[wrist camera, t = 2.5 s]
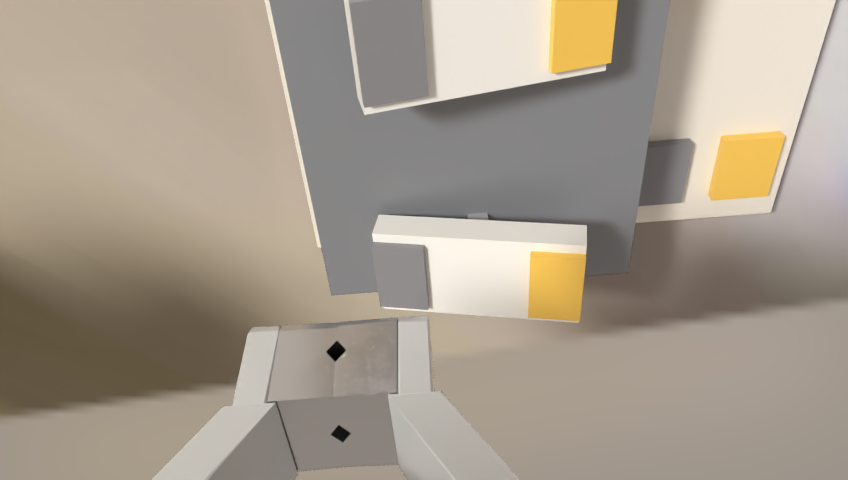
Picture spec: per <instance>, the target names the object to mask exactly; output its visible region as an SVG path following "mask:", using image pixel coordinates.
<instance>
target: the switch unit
mask: <svg viewBox="0 0 848 480" xmlns="http://www.w3.org/2000/svg"><path fill="white" fill-rule="evenodd" d="M835 2H836V0H618V2H617V11H616V21H615V30H614V39H613V49H612V58H611V63H608V64H606V71H601V72H595V73H590V74H584V75H579V76H573V77H568V78H563V79H557V80H552V81H546V82H541V83H535V84H530V85H525V86H519V87H514V88H508V89H503V90H497V91H492V92H487V93H481V94H476V95H470V96H465V97H459V98H454V99H449V100H443V101H438V102H432V103H427V104H421V105H416V106H411V107H405V108H400V109H394V110H389V111H383V112H378V113H373V114H367V115H364V113H363V110H362V107H361V105H360V102H359V100H358V96H357V89H356V82H355V75H354V68H353V61H352V54H351V47H350V40H349V33H348V26H347V19H346V12H345V5H344V0H265V4H266V9H267V14H268V18H269V23H270V27H271V32H272V37H273V41H274V46H275V51H276V55H277V60H278V65H279V69H280V74H281V79H282V83H283V88H284V93H285V97H286V102H287V106H288V111H289V116H290V120H291V125H292V130H293V134H294V139H295V144H296V148H297V153H298V158H299V162H300V167H301V172H302V176H303V181H304V185H305V190H306V195H307V199H308V204H309V209H310V213H311V218H312V223H313V227H314V232H315V237H316V241H317V246H318V248H319V247H321V249H322V253H323V258H324V263H325V268H326V272H327V277H328V282H329V286H330V291H331V295H345V294H358V293H371V292H378V287H377V281H376V274H375V268H374V261H373V255H372V248H371V246H372V243H373V238H372V232H373V229H374V226H375V224H376V221H377V218H378V215H396V216H416V217H435V218H455V219H474V220H494V221H513V222H533V223H552V224H572V225H587V250H586V265H585V275H584V276H594V275H607V274H620V273H628V269H629V263H630V256H631V250H632V243H633V237H634V231H635V224H636V223H643V222H656V221H669V220H682V219H695V218H708V217H721V216H734V215H746V214H759V213H771V210H772V207H773V204H774V200H775V197H776V194H777V191H778V187H779V184H780V181H781V178H782V174H783V171H784V168H785V165H786V161H787V158H788V155H789V151H790V148H791V145H792V142H793V138H794V135H795V132H796V129H797V125H798V122H799V119H800V116H801V112H802V109H803V106H804V103H805V99H806V96H807V93H808V90H809V86H810V83H811V80H812V77H813V73H814V70H815V67H816V63H817V60H818V57H819V54H820V50H821V47H822V44H823V41H824V37H825V34H826V31H827V28H828V24H829V21H830V18H831V15H832V11H833V8H834V5H835Z"/></svg>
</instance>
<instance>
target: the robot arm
mask: <svg viewBox="0 0 848 480" xmlns="http://www.w3.org/2000/svg"><path fill="white" fill-rule="evenodd" d="M377 465H378V466H379V465H399V467H400V469H401V471H402V472H403V474H404V475H405V477H406V478H407V480H519V479H518V477H517V476H516V475H515V474H514V473H513V472H512V471H511V469H510V468H509V467H508V466H507V465H506V464H505V463H504V462H503V460H501V458H500V457H499V456H498V455H497V454H496V453H495V451H494V450H493V449H492V448H491V447H490V446H489V445H488V443H487V442H486V441H485V440H484V439H483V438H482V437H481V435H480V434H479V433H478V432H477V431H476V430H475V429H474V427H473V426H472V425H471V424H470V423H469V422H468V421H467V420H466V418H465V417H464V416H463V415H462V414H461V413H460V412H459V410H458V409H457V408H456V407H455V406H454V405H453V404H452V403H451V401H450V400H449V399H448V398H447V397H446V396H445V395H444V394H443V392H442V391H437V392H435V384H434V374H433V361H432V349H431V337H430V326H429V317H428V315H422V316H409V317H399V319H398V317H397V318H384V319H372V320H360V321H347V322H340V323H320V324H299V325H282V326H268V327H252V328H251V330H250V332H249V333H248V335H247V340H246V344H245V349H244V353H243V358H242V362H241V367H240V371H239V376H238V380H237V385H236V389H235V394H234V398H233V403H232V405H231V406H223V407H222V408H221V409H220V410H219V411H218V412H217V413H216V414H215V415H214V416H213V417H212V418H211V419H210V420H209V421H208V422H207V423H206V424H205V425H204V426H203V427H202V428H201V429H200V430H199V431H198V432H197V433H196V434H195V435H194V436H193V437H192V438H191V439H190V441H189V442H188V443H187V444H186V445H185V446H184V447H183V448H182V449H181V450H180V451H179V452H178V453H177V454H176V455H175V456H174V457H173V458H172V459H171V460H170V461H169V462H168V463H167V464H166V465H165V466H164V467H163V468H162V469H161V470H160V471H159V472H158V473H157V474H156V475H155V476H154V477H153V478H152V479H151V480H295V478H296V477H297V475H298V473H297V472H298V471H307V470H319V469H329V468H340V467H353V466H377Z"/></svg>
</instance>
